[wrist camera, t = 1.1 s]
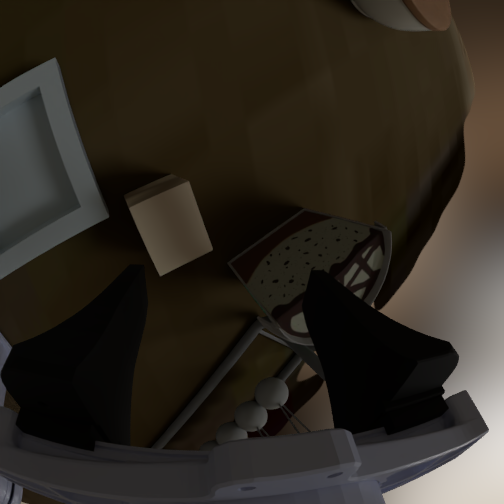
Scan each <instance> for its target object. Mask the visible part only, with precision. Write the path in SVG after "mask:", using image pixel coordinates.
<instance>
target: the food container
mask: <svg viewBox="0 0 504 504" xmlns="http://www.w3.org/2000/svg"><path fill="white" fill-rule="evenodd" d="M374 223H375V226H373V225H369V224H365V223H362V222H358V221H354V220H350V219H346V218H343V217H339V216H335V215H331V214H327V213H323V212H319V211H314V210H310V209H306V208H304V209H302V210H301V211H299V212H298V213H297V214H295V215H294V216H292V217H291V218H289V219H288V220H287V221H285V222H284V223H282V224H281V225H280V226H278V227H277V228H275V229H274V230H273V231H271V232H270V233H268V234H267V235H265V236H264V237H263V238H261V239H260V240H258V241H257V242H256V243H254V244H253V245H251V246H250V247H249V248H247V249H246V250H244V251H243V252H241V253H240V254H239V255H237V256H236V257H234V258H233V259H232V260H230V261H229V262H227V264H228V265H229V267H230V268H231V269H232V271H233V272H234V273H235V275H236V276H237V277H238V279H239V280H240V281H241V283H242V284H243V285H244V287H245V288H246V289H247V290H248V292H249V293H250V294H251V296H252V297H253V298H254V300H255V301H256V302H257V303H258V305H259V306H260V307H261V309H262V310H263V311H264V313H265V314H266V315H267V316H268V318H269V319H270V320H271V323H269V322H268V321H266V320H264V319H262V318H260V317H259V316H258V317H257V319H258V320H259V322H260V323H261V324H262V325H263V326H264V327H265V328H267V329H268V330H269V331H270V332H272V333H274V334H276V335H277V336H279V337H281V338H283V339H285V340H287V341H289V342H293V343H297V344H301V345H313V342H312V339H311V337H310V334H309V332H308V329H307V326H306V323H305V319H304V315H303V310H302V302H303V299H304V295H305V291H306V288H307V284H308V280H309V276H310V272H311V270H324V271H326V272H327V273H329V274H330V275H331V276H332V277H334V278H335V279H336V280H337V281H339V282H340V283H341V284H342V285H344V286H345V287H346V288H347V289H349V290H350V291H351V292H352V293H354V294H355V295H356V296H358V297H359V298H360V299H362V300H363V301H364V302H366V303H367V304H368V305H370V306H371V305H372V303H373V302H374V300H375V298H376V297H377V295H378V293H379V291H380V289H381V287H382V285H383V282H384V280H385V277H386V274H387V271H388V267H389V263H390V258H391V251H392V236H391V231H389V230H387V227H386V226H384V225H382V224H380V223H379V222H377V221H374Z"/></svg>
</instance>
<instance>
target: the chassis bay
mask: <svg viewBox="0 0 504 504" xmlns="http://www.w3.org/2000/svg"><path fill="white" fill-rule="evenodd" d="M107 218H109V210H108V207H107V205H106V203H105V200H104V198H103V196H102V193H101V191H100V188H99V186H98V183H97V181H96V178H95V176H94V173H93V171H92V168H91V165H90V163H89V160H88V157H87V154H86V152H85V149H84V146H83V143H82V140H81V137H80V135H79V132H78V129H77V125H76V122H75V119H74V116H73V113H72V110H71V106H70V103H69V99H68V96H67V92H66V89H65V85H64V81H63V78H62V74H61V70H60V66H59V64H58V62H57V60H56V58H53V59H51V60H49V61H47V62H45V63H43V64H41V65H39V66H37V67H35V68H33V69H31V70H30V71H28V72H26V73H24V74H22V75H21V76H19V77H17V78H15V79H14V80H12V81H10V82H9V83H7V84H5V85H4V86H2V87H0V279H2V278H3V277H5V276H6V275H8V274H9V273H11V272H13V271H14V270H16V269H17V268H19V267H21V266H22V265H24V264H25V263H27V262H29V261H30V260H32V259H34V258H35V257H37V256H39V255H40V254H42V253H44V252H46V251H47V250H49V249H51V248H52V247H54V246H56V245H58V244H60V243H61V242H63V241H65V240H67V239H69V238H70V237H72V236H74V235H76V234H78V233H80V232H81V231H83V230H85V229H87V228H89V227H91V226H93V225H95V224H97V223H99V222H101V221H103V220H105V219H107Z"/></svg>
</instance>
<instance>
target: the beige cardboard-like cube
mask: <svg viewBox="0 0 504 504" xmlns="http://www.w3.org/2000/svg"><path fill="white" fill-rule="evenodd" d="M124 198H125V200H126V202H127V205H128V207H129V210H130V212H131V214H132V217H133V219H134V221H135V224H136V226H137V228H138V230H139V233H140V235H141V237H142V239H143V242H144V244H145V246H146V248H147V250H148V252H149V255H150V257H151V259H152V261H153V263H154V265H155V267H156V269H157V271H158V273H159V275H160V276H162V275H164V274H166V273H168V272H170V271H172V270H174V269H176V268H178V267H180V266H182V265H184V264H186V263H188V262H190V261H192V260H194V259H196V258H198V257H200V256H202V255H204V254H206V253H208V252H210V251H212V250H213V248H212V245H211V242H210V240H209V237H208V234H207V231H206V229H205V226H204V223H203V220H202V217H201V215H200V212H199V209H198V206H197V203H196V201H195V198H194V195H193V192H192V189H191V186H190V183H189V181H187V180H185V179H182V178H180V177H177V176H175V175H172V174H170V175H168V176H165V177H163V178H161V179H158V180H156V181H154V182H151V183H149V184H147V185H145V186H142V187H140V188H138V189H136V190H134V191H131V192H129V193H127V194H125V195H124Z"/></svg>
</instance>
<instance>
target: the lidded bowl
mask: <svg viewBox="0 0 504 504" xmlns="http://www.w3.org/2000/svg"><path fill="white" fill-rule="evenodd" d="M350 1H351V2H352V4H353V5H354V6H355V7H356V8H357V9H358V11H360V12H361V13H362V14H363V15H365V16H367V17H369V18H372V19H373V20H375V21H377V22H378V23H380V24H382V25H385V26H387V27H390V28H393V29H397V30H404V31H430V30H432V31H444V30H446V29H447V28H448V27H449V25H450V23H451V9H450V3H449V0H350Z"/></svg>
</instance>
